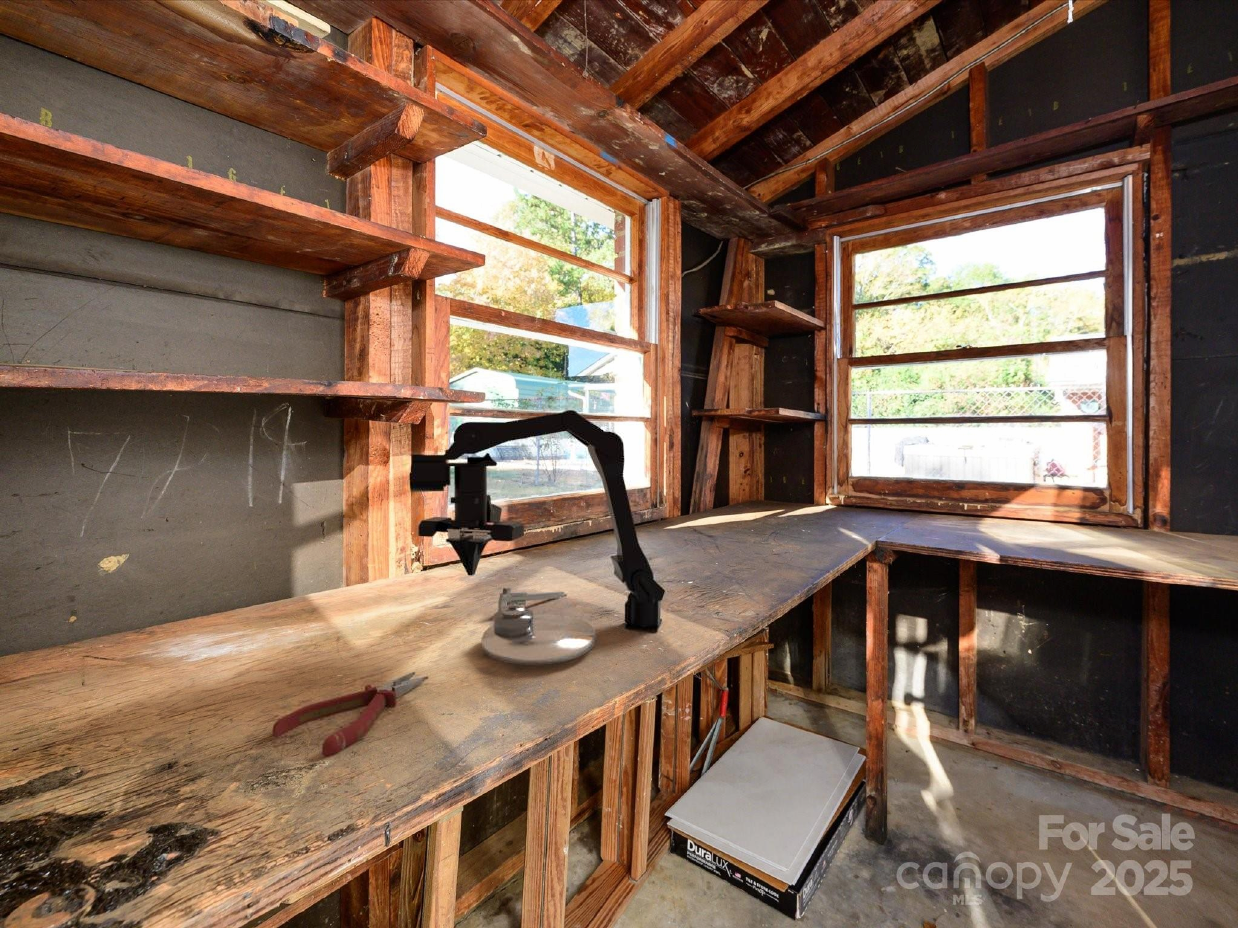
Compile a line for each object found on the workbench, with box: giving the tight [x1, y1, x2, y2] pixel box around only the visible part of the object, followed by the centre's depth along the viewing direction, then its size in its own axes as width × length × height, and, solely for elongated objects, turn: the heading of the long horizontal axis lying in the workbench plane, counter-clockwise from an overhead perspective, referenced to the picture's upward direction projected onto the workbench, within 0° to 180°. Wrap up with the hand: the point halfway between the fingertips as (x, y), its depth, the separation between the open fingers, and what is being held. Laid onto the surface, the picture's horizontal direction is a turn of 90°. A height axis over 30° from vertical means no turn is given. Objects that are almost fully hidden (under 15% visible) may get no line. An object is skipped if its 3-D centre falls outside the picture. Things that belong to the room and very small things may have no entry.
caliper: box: [497, 587, 568, 612], centre depth 121 cm, size 20×1×6 cm, turn 143°
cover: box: [493, 603, 534, 638], centre depth 98 cm, size 7×7×4 cm
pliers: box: [272, 671, 429, 757], centre depth 75 cm, size 12×20×3 cm, turn 155°
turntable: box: [481, 614, 596, 666], centre depth 97 cm, size 20×20×1 cm
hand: (471, 574), depth 100 cm, fingers closed
